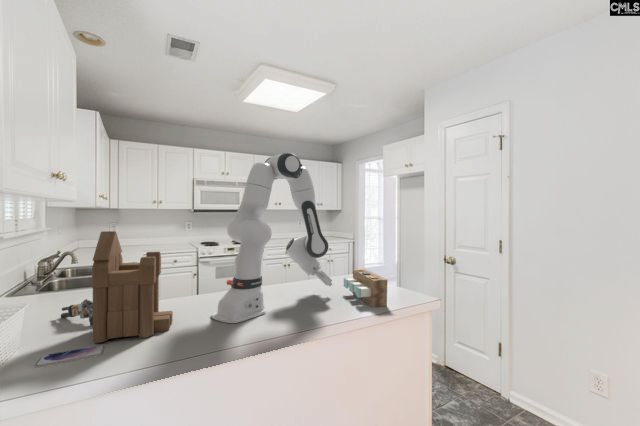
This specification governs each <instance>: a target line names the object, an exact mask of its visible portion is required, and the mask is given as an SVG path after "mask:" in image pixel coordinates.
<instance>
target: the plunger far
mask: <svg viewBox="0 0 640 426" xmlns="http://www.w3.org/2000/svg"><path fill="white" fill-rule="evenodd" d="M349 282H352V283H354V282H358V279H356V278H353V277H351V278H346V277H344V278H343V287H344V288H345V289H349Z"/></svg>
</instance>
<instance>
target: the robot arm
mask: <svg viewBox="0 0 640 426" xmlns="http://www.w3.org/2000/svg"><path fill="white" fill-rule="evenodd" d="M280 179H281V180H283V179H285V180H286V181H287V183H288V184H289V188H290V189H289V190H290V196H291V197H292V200H293V201H292V202H293V203H294V206H295V207H296V208H297V210H298V211H299V212H300V214H301V216H302V218H303V222H304V225H305V229H306V233H305V234H304V235H302V236H299V237H294V238H292V239H290V241H288V243H287V244H286V249H285V252H286V254H287V256H288V257H289V258H290V259H291V260H292V261H293V262H294V263H295V264H297V265H298V267H300V269H301V270H302V271H303V272H304V273H305V274H306V275H307V276H315V277H316V278H318V279H319V280H320V281H321V282H322V283H323V284H324V285H325V286H327V287H332V286H333V283H332V282H333V280H332V279H331V277H330V276H329V275H327V273H326V272H325V271H324V270H323V269H321V268H322V265H321V261H320V260H319V259H320V258H321V257H324V256H325V255H326V254H327V252H329V241H328V240H327V239H326V238H325V236H324V235H323V233H322V229H321V226H320V221H319V218H318V213H317V206H316V194H315V188H314V187H315V186H314V184H313V180H312V177H311V174H310V172H309V170H308V169H307V167H305V166H303V164H302V163H301V159H300V158H299V157H298V155H296V154H294V153H292V152H284V153H278V154H276V155H273V156H270V157H268V158H267V159H266V160H265V161H264V162H263V161H258V162H256V163H254V164H253V165H252V167H251V169H250V171H249V174H248V176H247V179H246V183H245V187H244V190H243V195H242V199H241V202H240V204H239V207H238V208H237V211H236V213H235V215H234V217H233V219H232V220H231V221H230V222H229V223H228V225H227V228H226V230H227V235H228V236H229V238H231V239H232V240H233V241H234V242H235V243H240V246H239V250H238V254H237V255H236V256H235V258H234V277H233V278H232V280H231V279H227V280H226V285H229V286H230V288H229V289H228V290H227V292H226V293H225V294H224V295H223V296H222V297H221V298H220V299H219V301H218V303H217V311H215V312H213V313H211V315H210V317H211V318H212V319H213V320H215V321H217V322H221V323H227V324H237V323H241V322H245V321H248V320H249V319H253V318H256V317H260V316H262V315H264V314H266V313H267V312H266V311H267V310H266V309H265V304H264V293H263V290H262V289H263V288H262V285H263V276H262V261H263V260H262V259H263V254H264V251H265V249H266V246H267V243H269V242H270V239H271V237H272V228H271V226H270V225H269V224H268V223H267V222H265V221H264V220H261V218H262V217H261V216H262V214H263V213H264V212H265V211H266V210H267V209H268V207H269V202H270V197H271V194H272V189H273V183H274V181H275V180H280ZM318 258H319V259H318Z"/></svg>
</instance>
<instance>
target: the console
mask: <svg viewBox="0 0 640 426" xmlns="http://www.w3.org/2000/svg"><path fill="white" fill-rule="evenodd" d="M352 278H356V279H358V282H363V283H364V287H366V286H369V287H371V296H369V297H361V298H360V299H361V300H363V302H365V303H367V304H368V305H369V306H371V308H372V307H373V308H377V307H378V308H379V307H381V308H382V307H387V306H388V279H386V278H385V277H383V276H380V275H379V274H376V273H375V272H372V270H371V271H370V270H369V269H367V268H354V269H352ZM353 294H355V295H356V292H354V293H353Z"/></svg>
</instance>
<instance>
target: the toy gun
mask: <svg viewBox="0 0 640 426" xmlns="http://www.w3.org/2000/svg"><path fill="white" fill-rule="evenodd" d="M61 311H62V312H63V313H61V314H60V318H61V319H67V318H74V317H78V316H79V317H80V319H81V320H82V319H88V322H89V325H90V327H92V328H93V300H90V299H88V298H86V299H84V300H83V301H82V302H81V303H77V304H71V305H69V306H65V307H62V308H61ZM64 311H67V312H64Z"/></svg>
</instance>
